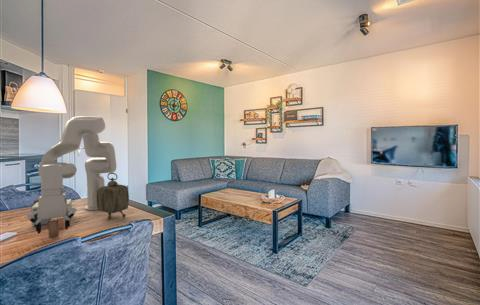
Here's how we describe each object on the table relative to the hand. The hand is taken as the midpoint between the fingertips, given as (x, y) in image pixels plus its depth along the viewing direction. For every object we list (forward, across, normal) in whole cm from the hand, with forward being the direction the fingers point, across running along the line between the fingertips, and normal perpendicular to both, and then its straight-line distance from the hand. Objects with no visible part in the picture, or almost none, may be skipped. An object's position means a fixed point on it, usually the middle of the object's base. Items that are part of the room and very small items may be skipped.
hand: (53, 230), depth 106 cm
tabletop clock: (+3, -24, -16) cm, 29 cm away
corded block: (+2, 0, -7) cm, 7 cm away
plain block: (+3, +7, -25) cm, 26 cm away
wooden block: (+3, +14, -66) cm, 68 cm away
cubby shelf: (+2, +4, -26) cm, 27 cm away
